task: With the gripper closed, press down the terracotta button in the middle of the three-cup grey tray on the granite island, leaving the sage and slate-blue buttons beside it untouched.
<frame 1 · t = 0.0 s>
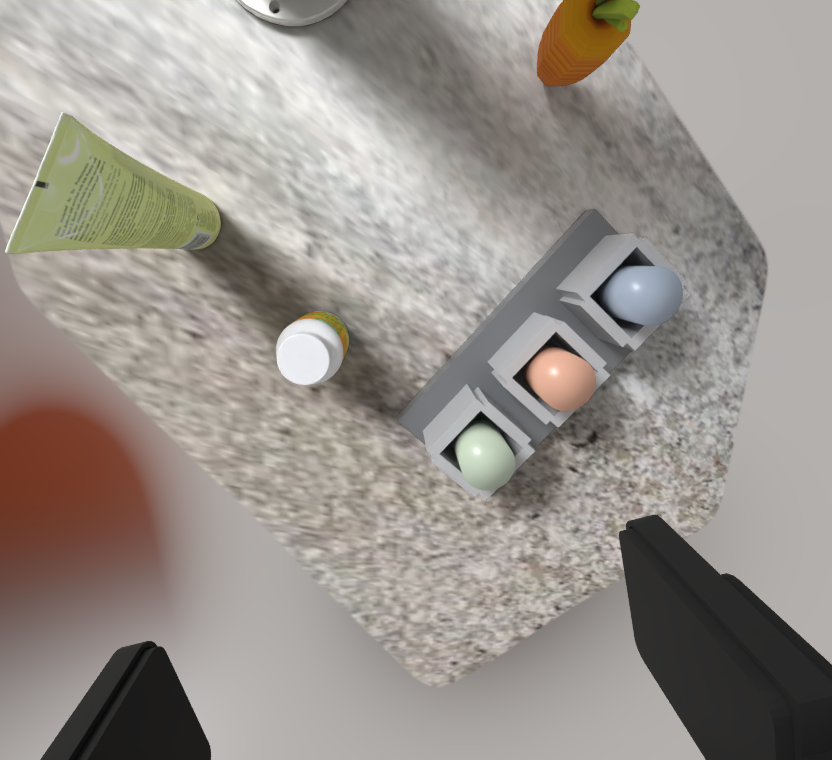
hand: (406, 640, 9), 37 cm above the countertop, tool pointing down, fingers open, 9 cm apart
supplement bottle: (321, 338, 45), on the countertop
carrot: (544, 78, 41), on the countertop
tube: (195, 218, 42), on the countertop
three-cup grey tray: (531, 357, 47), on the countertop
button sage: (482, 453, 41), point 7 cm above the countertop, slide at 0.0 cm
button slate: (637, 294, 38), point 7 cm above the countertop, slide at 0.0 cm
button terracotta: (557, 376, 40), point 7 cm above the countertop, slide at 0.0 cm
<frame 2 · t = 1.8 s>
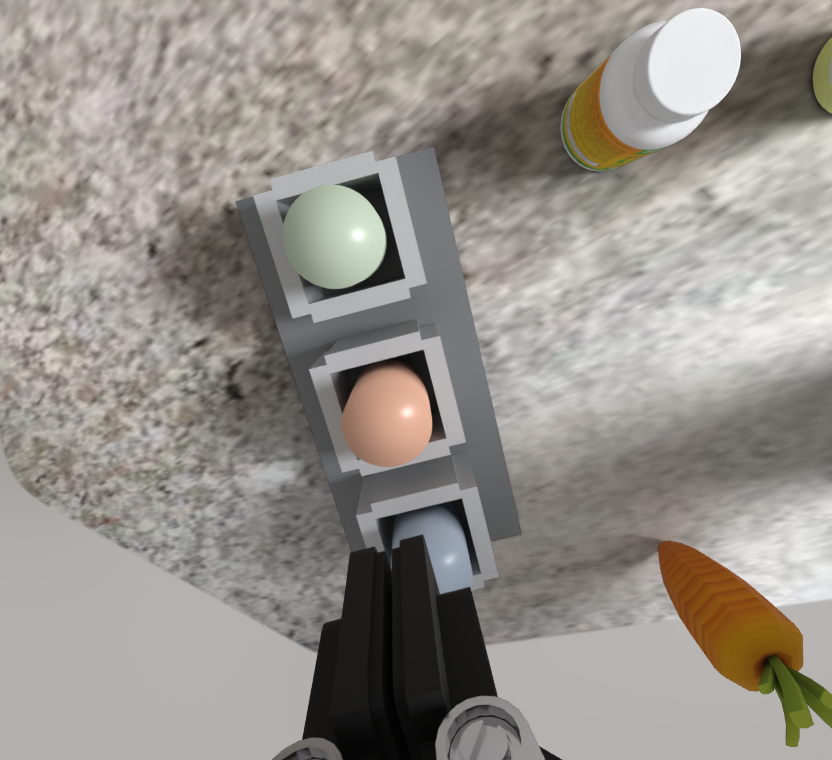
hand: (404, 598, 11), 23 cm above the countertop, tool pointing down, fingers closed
supplement bottle: (600, 126, 29), on the countertop
carrot: (661, 542, 37), on the countertop
three-cup grey tray: (392, 376, 33), on the countertop
button sage: (340, 240, 23), point 7 cm above the countertop, slide at 0.0 cm
button slate: (429, 552, 28), point 7 cm above the countertop, slide at 0.0 cm
button terracotta: (388, 409, 26), point 7 cm above the countertop, slide at 0.0 cm
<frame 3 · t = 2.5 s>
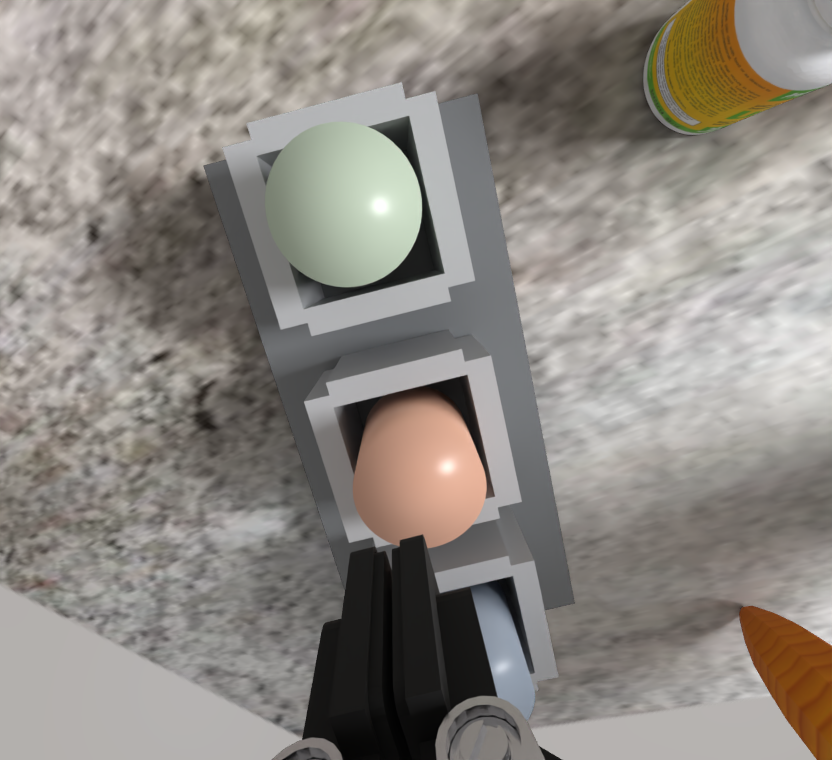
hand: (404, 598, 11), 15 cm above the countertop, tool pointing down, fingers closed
supplement bottle: (694, 74, 22), on the countertop
carrot: (740, 606, 30), on the countertop
three-cup grey tray: (412, 401, 25), on the countertop
button sage: (352, 215, 16), point 7 cm above the countertop, slide at 0.0 cm
button slate: (467, 648, 20), point 7 cm above the countertop, slide at 0.0 cm
button terracotta: (417, 458, 18), point 7 cm above the countertop, slide at 0.0 cm
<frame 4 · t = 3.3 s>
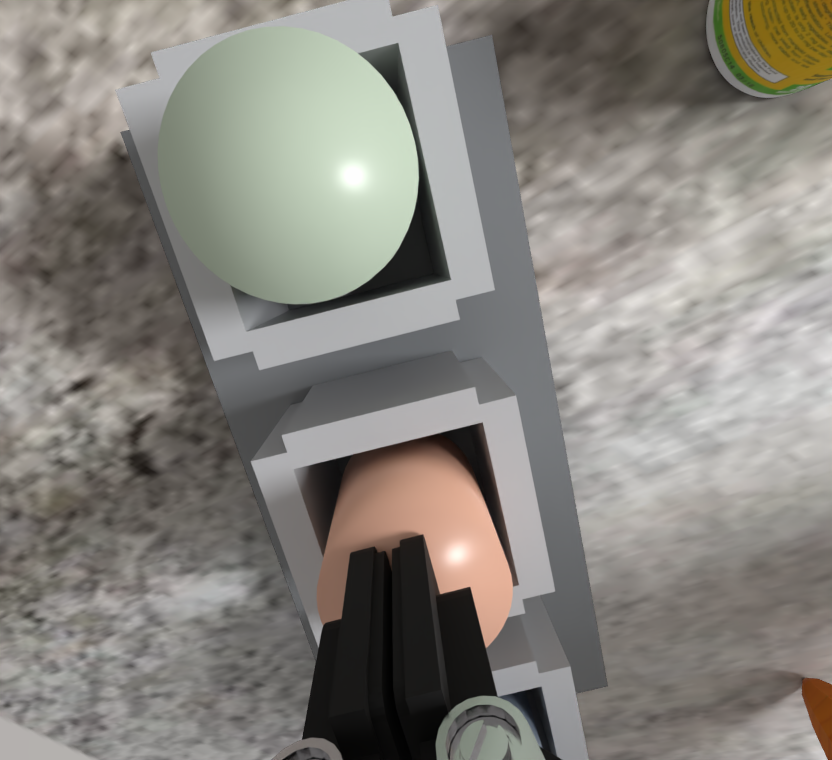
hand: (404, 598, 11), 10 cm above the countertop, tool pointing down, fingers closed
supplement bottle: (771, 19, 17), on the countertop
carrot: (801, 676, 25), on the countertop
three-cup grey tray: (405, 438, 20), on the countertop
button sage: (313, 193, 11), point 7 cm above the countertop, slide at 0.0 cm
button terracotta: (411, 534, 13), point 7 cm above the countertop, slide at 0.3 cm, touching gripper
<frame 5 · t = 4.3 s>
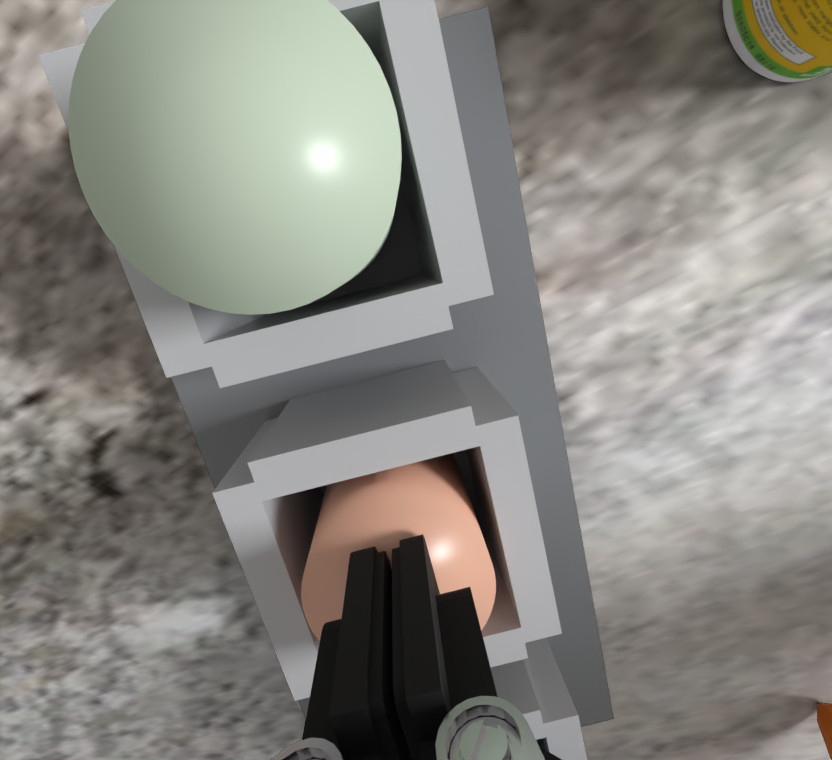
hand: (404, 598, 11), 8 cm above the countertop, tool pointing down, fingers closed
carrot: (816, 701, 23), on the countertop
three-cup grey tray: (394, 454, 18), on the countertop
button sage: (279, 180, 9), point 7 cm above the countertop, slide at 0.0 cm
button terracotta: (397, 532, 13), point 5 cm above the countertop, slide at 2.1 cm
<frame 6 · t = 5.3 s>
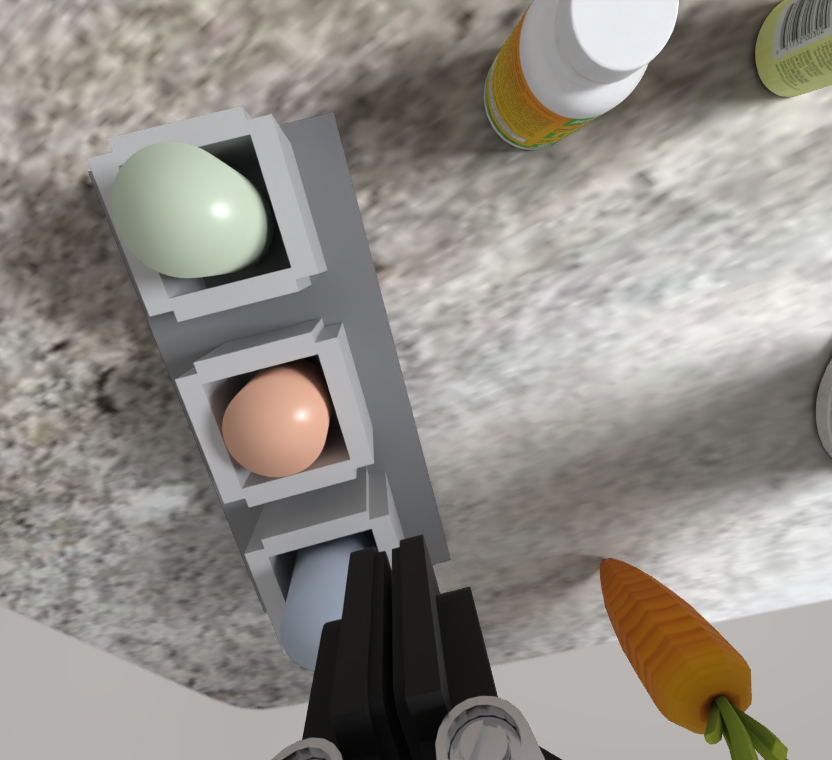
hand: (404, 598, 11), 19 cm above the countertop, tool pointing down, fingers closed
supplement bottle: (529, 98, 26), on the countertop
carrot: (603, 559, 34), on the countertop
tube: (789, 54, 27), on the countertop
three-cup grey tray: (299, 383, 28), on the countertop
button sage: (204, 218, 19), point 7 cm above the countertop, slide at 0.0 cm
button slate: (334, 593, 23), point 7 cm above the countertop, slide at 0.0 cm
button terracotta: (284, 412, 23), point 5 cm above the countertop, slide at 2.1 cm
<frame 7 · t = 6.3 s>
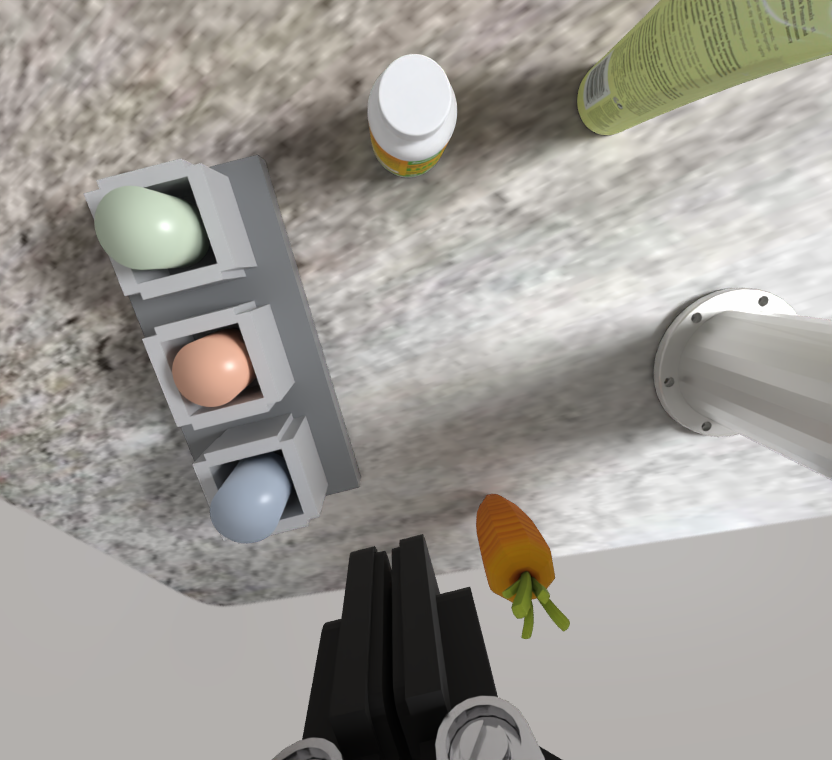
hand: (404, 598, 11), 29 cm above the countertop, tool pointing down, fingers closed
supplement bottle: (407, 139, 35), on the countertop
carrot: (489, 496, 43), on the countertop
tube: (607, 103, 35), on the countertop
three-cup grey tray: (244, 350, 38), on the countertop
button sage: (157, 231, 29), point 8 cm above the countertop, slide at 0.0 cm
button slate: (255, 494, 33), point 7 cm above the countertop, slide at 0.0 cm
button terracotta: (221, 365, 33), point 5 cm above the countertop, slide at 2.1 cm
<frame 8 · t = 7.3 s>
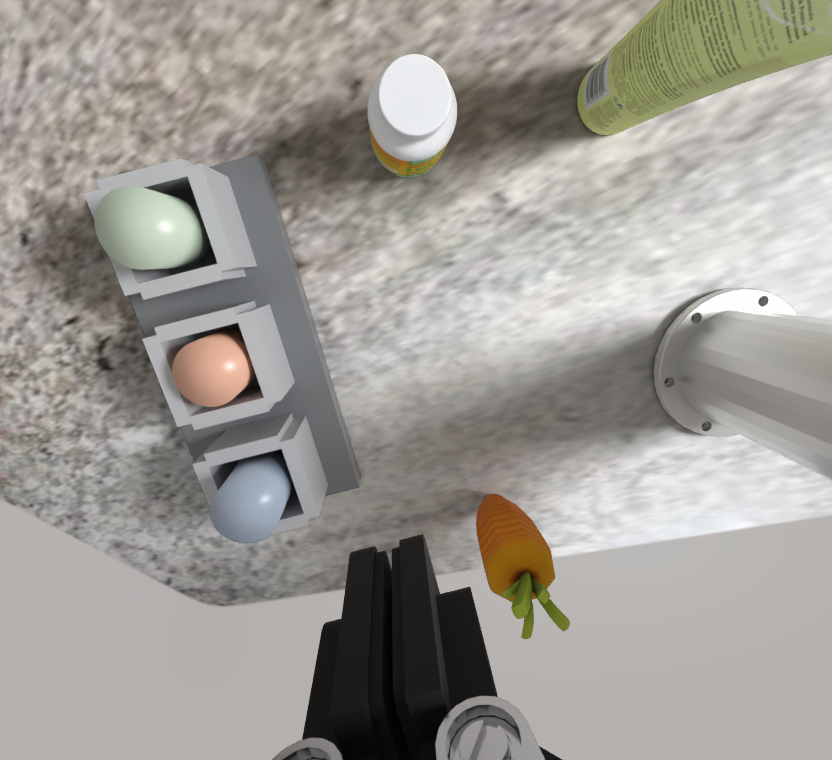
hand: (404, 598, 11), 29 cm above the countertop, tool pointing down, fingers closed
supplement bottle: (407, 139, 35), on the countertop
carrot: (489, 496, 43), on the countertop
tube: (607, 103, 35), on the countertop
three-cup grey tray: (244, 350, 38), on the countertop
button sage: (157, 231, 29), point 7 cm above the countertop, slide at 0.0 cm
button slate: (255, 494, 33), point 7 cm above the countertop, slide at 0.0 cm
button terracotta: (221, 365, 33), point 5 cm above the countertop, slide at 2.1 cm
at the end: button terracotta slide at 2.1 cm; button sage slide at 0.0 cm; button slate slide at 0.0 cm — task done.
